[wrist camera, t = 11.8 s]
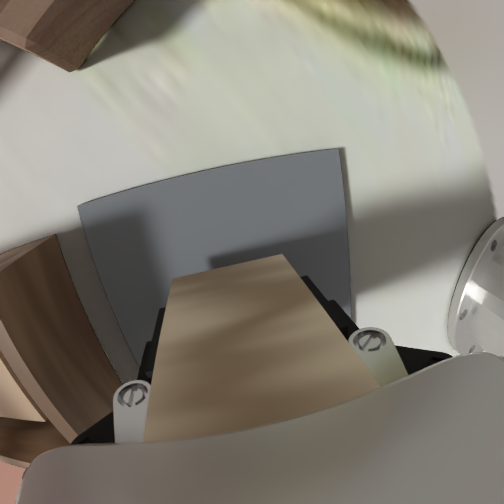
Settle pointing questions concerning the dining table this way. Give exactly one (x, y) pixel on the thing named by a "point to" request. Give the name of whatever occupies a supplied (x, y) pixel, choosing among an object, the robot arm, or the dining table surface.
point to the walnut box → (46, 356)
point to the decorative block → (58, 27)
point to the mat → (218, 232)
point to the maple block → (246, 353)
